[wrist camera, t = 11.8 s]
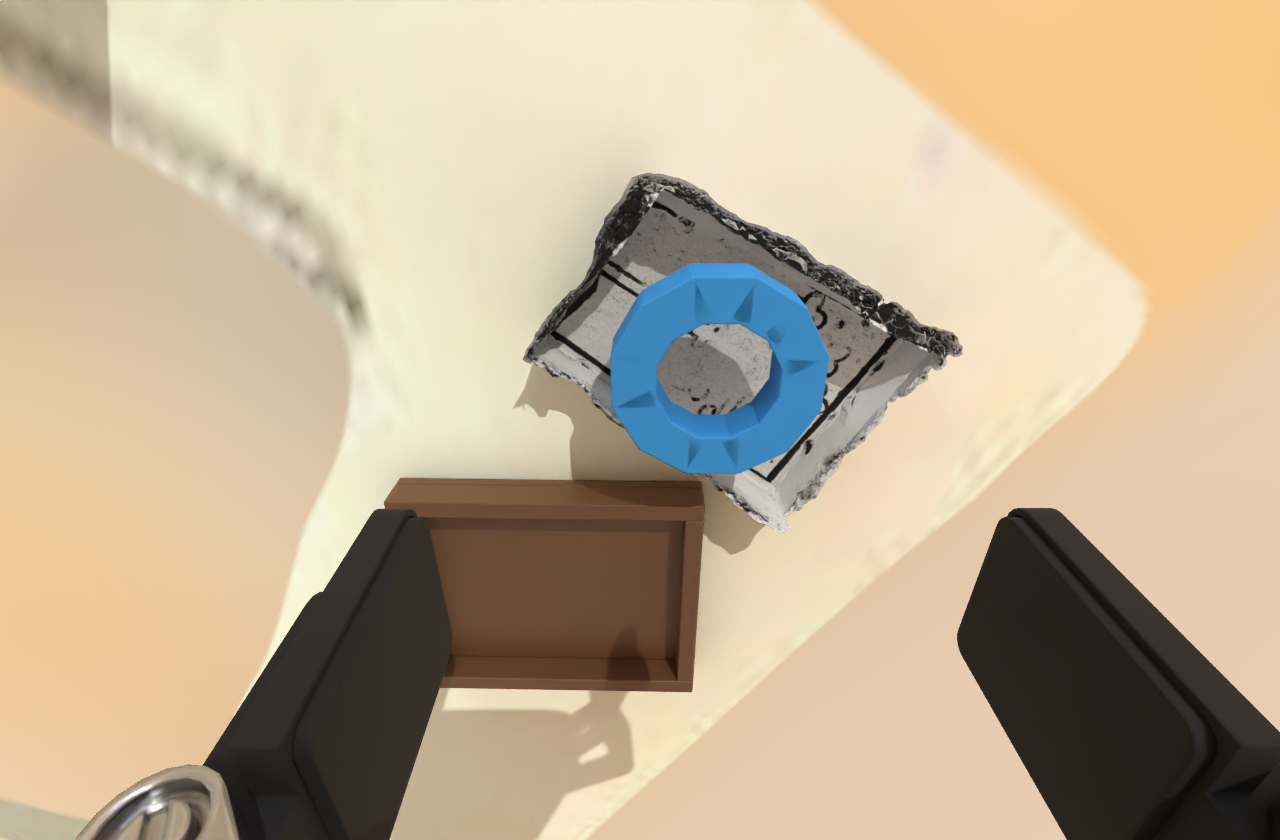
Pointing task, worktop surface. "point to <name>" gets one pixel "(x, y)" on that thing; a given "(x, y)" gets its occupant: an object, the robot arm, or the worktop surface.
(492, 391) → the worktop surface
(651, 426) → the ring
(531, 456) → the worktop surface
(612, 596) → the tray
